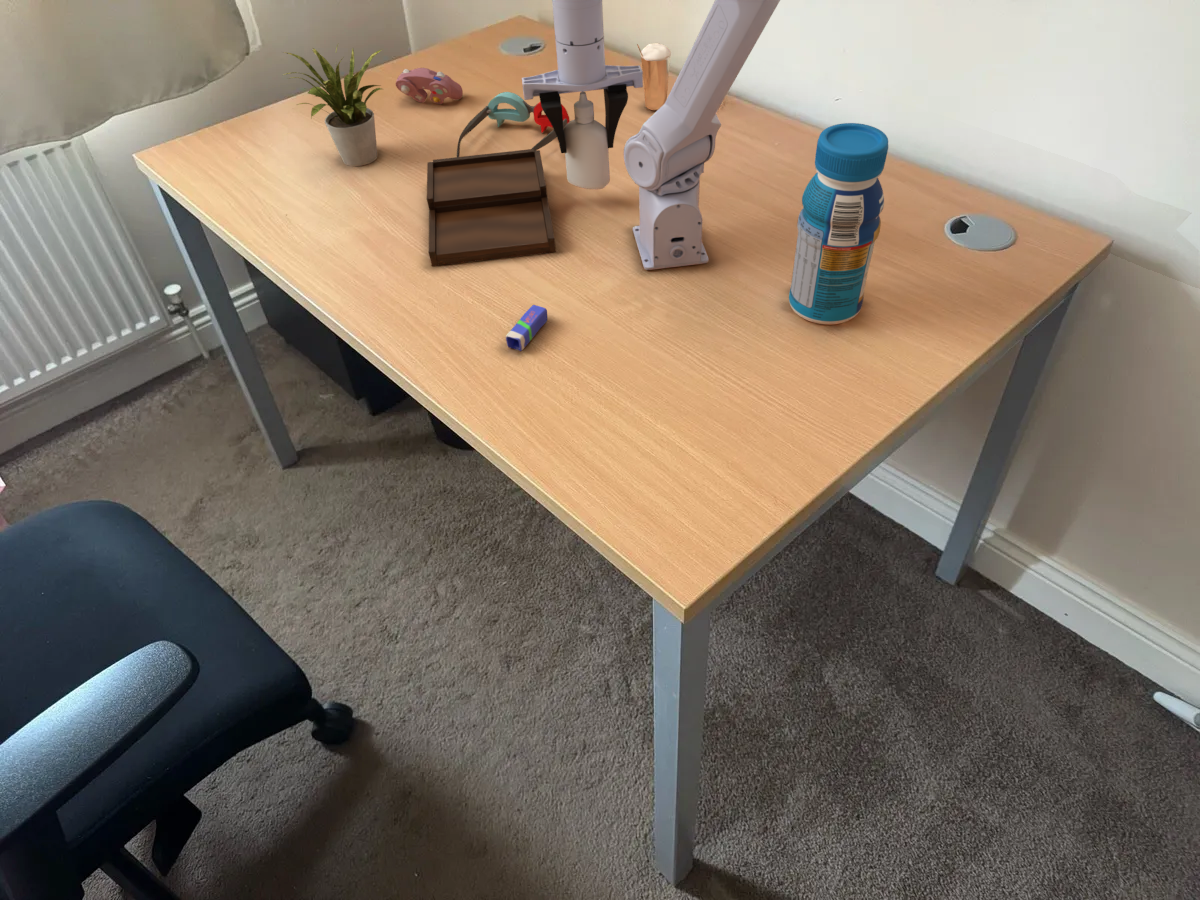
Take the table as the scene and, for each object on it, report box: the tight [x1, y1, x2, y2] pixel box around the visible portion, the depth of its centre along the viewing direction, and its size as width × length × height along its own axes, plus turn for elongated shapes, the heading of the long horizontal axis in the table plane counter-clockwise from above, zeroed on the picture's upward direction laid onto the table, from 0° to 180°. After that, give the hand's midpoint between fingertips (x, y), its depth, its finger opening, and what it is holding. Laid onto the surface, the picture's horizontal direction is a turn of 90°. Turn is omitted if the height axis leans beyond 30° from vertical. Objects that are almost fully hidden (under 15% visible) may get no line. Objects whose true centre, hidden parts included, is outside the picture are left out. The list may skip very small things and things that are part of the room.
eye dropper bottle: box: [564, 91, 611, 190], centre depth 108 cm, size 4×6×12 cm
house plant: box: [282, 44, 384, 167], centre depth 121 cm, size 14×14×16 cm
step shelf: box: [426, 148, 557, 267], centre depth 112 cm, size 20×16×4 cm
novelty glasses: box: [456, 91, 571, 157], centre depth 125 cm, size 14×15×5 cm
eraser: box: [505, 304, 548, 352], centre depth 95 cm, size 2×6×2 cm, turn 152°
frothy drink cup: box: [636, 42, 672, 111], centre depth 130 cm, size 5×5×10 cm
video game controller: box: [395, 67, 464, 105], centre depth 137 cm, size 10×5×7 cm
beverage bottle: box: [788, 122, 889, 325], centre depth 89 cm, size 8×8×20 cm
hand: (586, 147), depth 109 cm, fingers closed on eye dropper bottle, 5 cm apart
